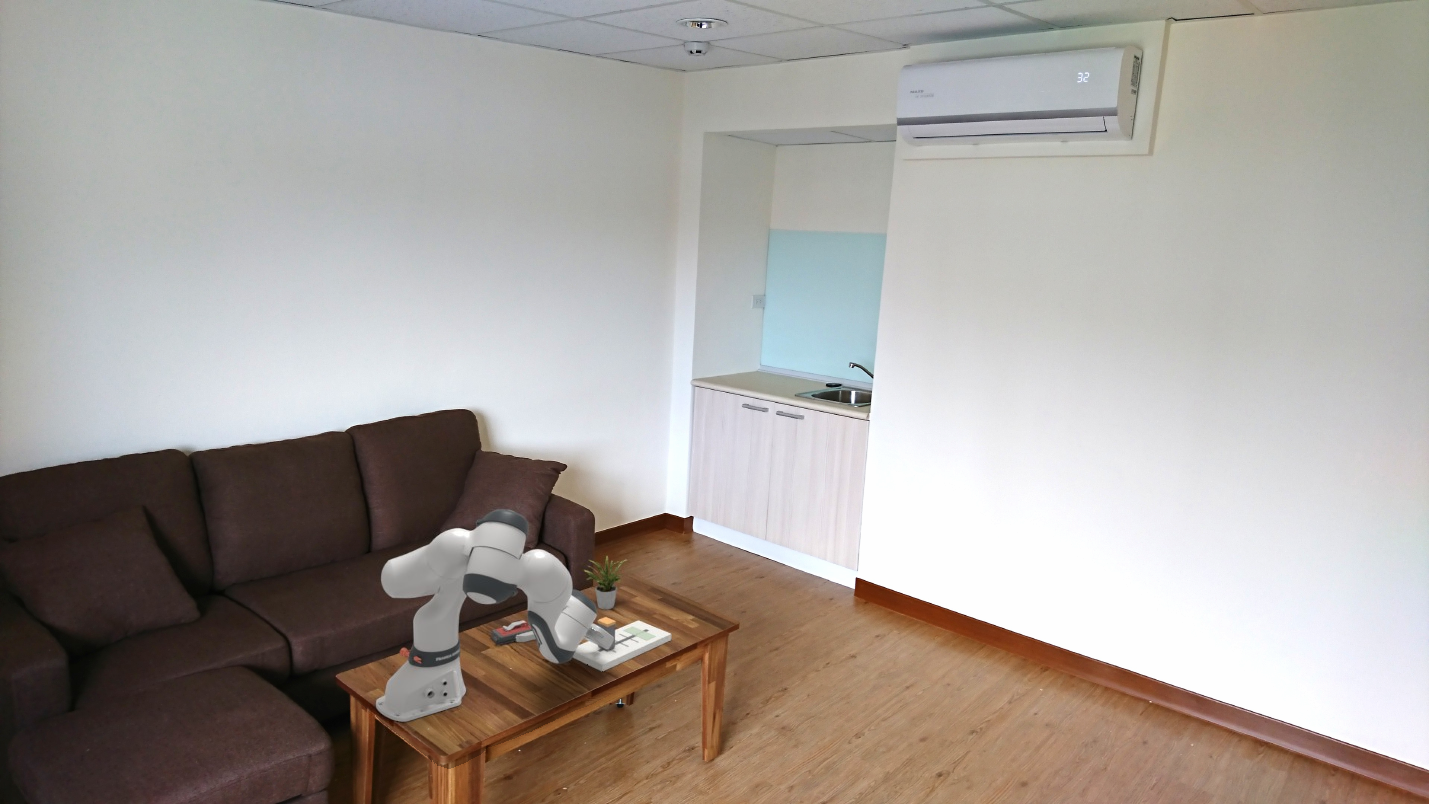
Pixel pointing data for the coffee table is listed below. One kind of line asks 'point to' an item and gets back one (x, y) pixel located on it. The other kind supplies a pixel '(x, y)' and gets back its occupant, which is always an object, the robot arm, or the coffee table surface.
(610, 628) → the fader knob
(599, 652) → the console
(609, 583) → the house plant
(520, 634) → the red and grey tool
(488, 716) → the coffee table surface
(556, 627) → the robot arm
